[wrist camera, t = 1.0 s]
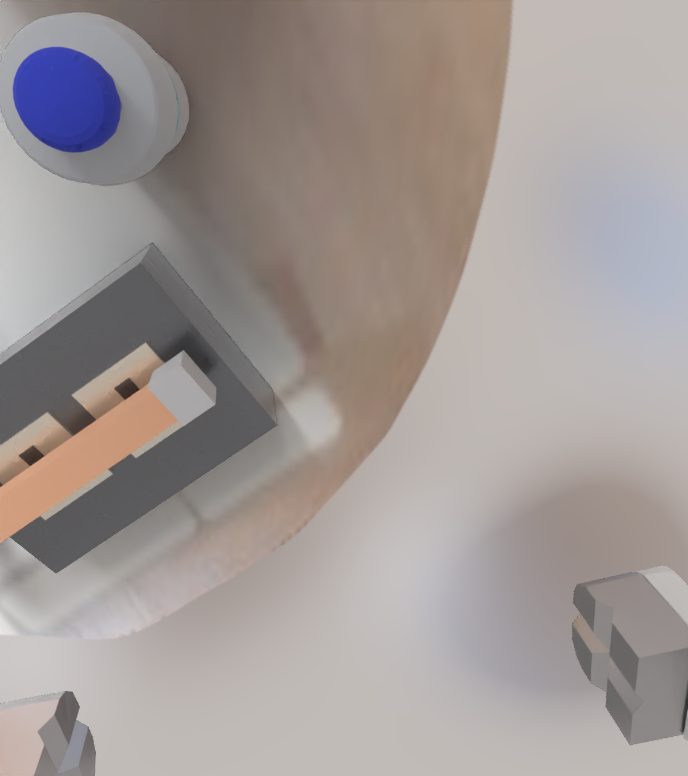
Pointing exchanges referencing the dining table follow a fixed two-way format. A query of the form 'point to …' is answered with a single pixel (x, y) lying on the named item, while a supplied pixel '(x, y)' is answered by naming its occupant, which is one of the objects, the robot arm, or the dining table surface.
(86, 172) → the bottle
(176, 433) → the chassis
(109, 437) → the swing arm
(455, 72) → the dining table surface
